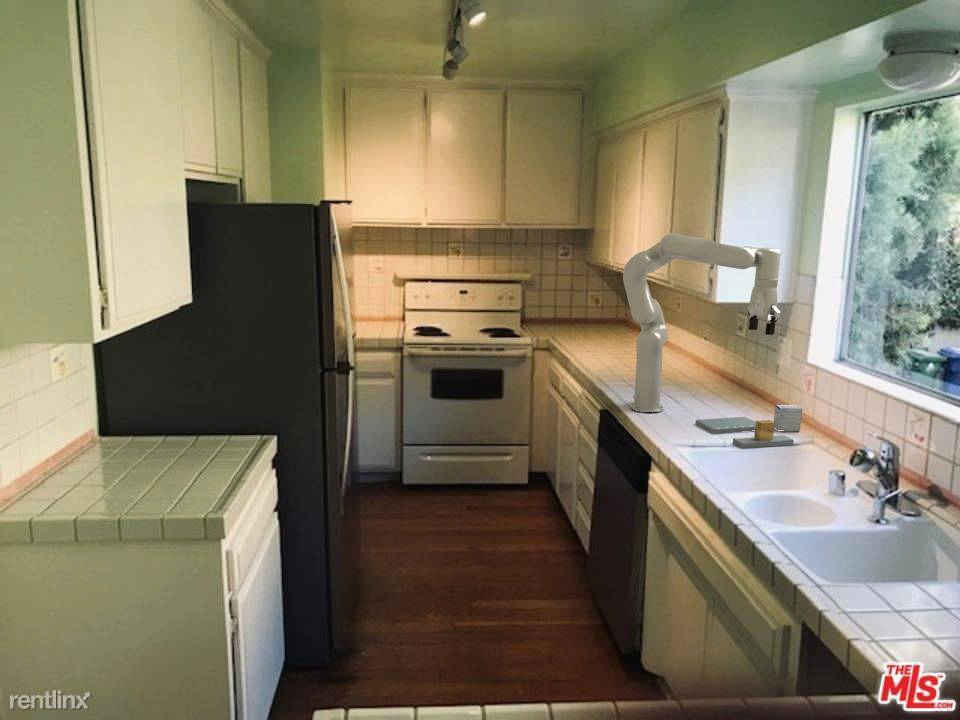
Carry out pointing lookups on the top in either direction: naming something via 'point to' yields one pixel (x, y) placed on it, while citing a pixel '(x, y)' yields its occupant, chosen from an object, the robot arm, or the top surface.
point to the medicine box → (788, 417)
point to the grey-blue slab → (763, 437)
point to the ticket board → (727, 425)
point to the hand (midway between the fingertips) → (761, 332)
